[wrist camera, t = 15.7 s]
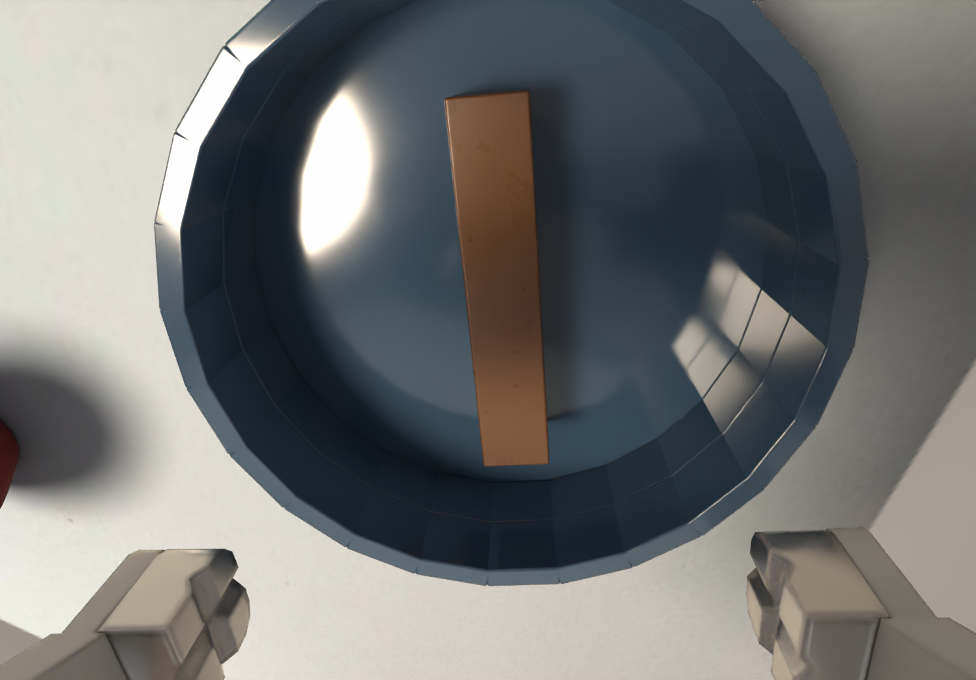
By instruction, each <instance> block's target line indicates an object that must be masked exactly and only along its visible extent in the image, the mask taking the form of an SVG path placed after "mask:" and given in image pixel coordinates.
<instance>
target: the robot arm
mask: <svg viewBox="0 0 976 680" xmlns="http://www.w3.org/2000/svg"><path fill="white" fill-rule="evenodd" d="M750 554H751V557H752V559H753V561H754V563H755V565H756V568H755V569H754V570H753V571H752V572H751V573H750V574H749V575H748V576H747V590H746V595H747V604H748V612H749V616H750V619H751V623H752V627H753V629H754V632H755V634H756V637H757V639H758V642H759V644H760V645H762V646H763V647H764V648H765V649H767V650H768V651H769V652H770V653H772V654H773V659H772V667H771V673H772V675H773V678H774V680H976V633H974V632H973V631H971V630H969V629H968V628H966V627H964V626H962V625H961V624H959V623H957V622H955V621H954V620H952V619H950V618H937V617H936V616H935V614H934V613H933V612H932V611H931V609H930V608H929V607H928V606H927V604H926V603H925V602H924V600H923V599H922V598H921V597H920V595H919V594H918V593H917V591H916V590H915V589H914V588H913V586H912V585H911V584H910V582H909V581H908V580H907V579H906V577H905V576H904V575H903V574H902V572H901V571H900V570H899V568H898V567H897V566H896V565H895V563H894V562H893V561H892V560H891V558H890V557H889V556H888V554H887V553H886V552H885V551H884V549H883V548H882V547H881V546H880V544H879V543H878V542H877V540H876V539H875V538H874V537H873V535H872V534H871V533H870V532H869V531H868V530H866V529H864V528H862V527H858V528H837V529H826V530H801V531H776V532H755V533H754V536H753V538H752V540H751V548H750ZM237 569H238V565H237V562H236V560H235V557H234V555H233V552H232V551H229V550H226V549H167V550H138V551H136V552H134V553H131V554H129V555H128V556H127V557H126V558H125V559H124V561H123V562H122V563H121V564H120V565H119V566H118V568H117V569H116V570H115V571H114V572H113V573H112V575H111V576H110V577H109V578H108V579H107V581H106V582H105V583H104V584H103V585H102V586H101V588H100V589H99V590H98V591H97V592H96V593H95V595H94V596H93V597H92V598H91V599H90V600H89V602H88V603H87V604H86V605H85V606H84V607H83V609H82V610H81V611H80V612H79V613H78V615H77V616H76V617H75V618H74V619H73V620H72V622H71V623H70V624H69V625H68V626H67V627H66V629H65V630H64V631H63V632H62V633H61V634H51V635H49V636H47V637H46V638H44V639H42V640H41V641H39V642H37V643H36V644H34V645H33V646H31V647H29V648H28V649H26V650H24V651H23V652H21V653H20V654H18V655H16V656H15V657H13V658H11V659H10V660H8V661H6V662H5V663H3V664H2V665H0V680H224V678H225V676H224V671H223V667H222V664H223V663H224V662H225V661H227V660H228V659H229V658H230V657H232V656H233V655H234V654H235V653H236V652H238V650H239V648H240V646H241V644H242V642H243V640H244V638H245V636H246V633H247V628H248V623H249V618H250V604H249V598H248V595H247V592H246V588H244V587H243V586H242V585H241V584H239V583H238V582H237V581H236V580H235V579H233V577H234V575H235V573H236V571H237Z"/></svg>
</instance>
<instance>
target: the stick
mask: <svg viewBox="0 0 976 680" xmlns="http://www.w3.org/2000/svg"><path fill="white" fill-rule="evenodd" d="M444 105H445V114H446V124H447V133H448V142H449V151H450V160H451V170H452V179H453V188H454V197H455V207H456V216H457V225H458V234H459V244H460V253H461V262H462V271H463V281H464V290H465V299H466V308H467V317H468V327H469V336H470V345H471V354H472V364H473V373H474V382H475V391H476V401H477V410H478V419H479V428H480V438H481V447H482V456H483V464H484V466H486V467H488V466H513V465H538V464H549V462H550V460H549V441H548V423H547V404H546V386H545V367H544V349H543V330H542V312H541V293H540V275H539V256H538V237H537V219H536V200H535V182H534V163H533V145H532V126H531V108H530V93H529V91H528V89H526V88H523V89H512V90H502V91H491V92H480V93H469V94H459V95H454V96H450V97H447V98H445V100H444Z"/></svg>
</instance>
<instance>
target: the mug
mask: <svg viewBox="0 0 976 680" xmlns="http://www.w3.org/2000/svg"><path fill="white" fill-rule="evenodd" d="M18 459H19V449H18V444H17V442H16V439H15V438H14V436H13V434H12V433H11V431H10V430H9V429H8V427H7V426H6V425H5V424H4V423H3V422H1V421H0V508H1V507H2V504H3V502H4V500H5V498H6V495H7V493H8V490H9V488H10V485H11V482H12V479H13V476H14V473H15V470H16V467H17V464H18Z"/></svg>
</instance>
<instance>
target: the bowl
mask: <svg viewBox="0 0 976 680" xmlns="http://www.w3.org/2000/svg"><path fill="white" fill-rule="evenodd" d="M225 45H226V46H223V47H222V48H221V50H220V52H219V53H218V55H217V57H216V59H215V61H214V62H213V64H212V66H211V68H210V69H209V71H208V73H207V75H206V77H205V78H204V80H203V82H202V84H201V85H200V87H199V89H198V91H197V93H196V94H195V96H194V98H193V100H192V101H191V103H190V105H189V107H188V108H187V110H186V112H185V114H184V116H183V117H182V119H181V121H180V123H179V124H178V126H177V128H176V132H175V133H174V135H173V139H172V144H171V149H170V153H169V158H168V162H167V167H166V171H165V176H164V180H163V185H162V189H161V194H160V198H159V203H158V208H157V212H156V217H155V223H154V231H155V246H156V262H157V278H158V293H159V308H160V309H161V310H160V312H161V315H162V318H163V321H164V324H165V327H166V330H167V333H168V336H169V339H170V342H171V345H172V348H173V351H174V354H175V357H176V360H177V363H178V366H179V369H180V371H181V374H182V377H183V380H184V383H185V386H186V387H187V390H188V392H189V393H190V395H191V396H192V398H193V400H194V401H195V403H196V404H197V406H198V407H199V409H200V411H201V412H202V414H203V415H204V417H205V418H206V420H207V422H208V423H209V425H210V426H211V428H212V429H213V431H214V432H215V434H216V436H217V437H218V439H219V440H220V442H221V443H222V445H223V447H224V448H225V450H226V451H227V453H228V454H230V456H231V457H232V458H233V459H234V460H235V461H236V462H237V463H238V464H239V465H240V466H241V467H242V468H243V469H244V470H245V471H246V472H247V473H248V474H249V475H250V476H251V477H252V478H253V479H254V480H255V481H256V482H257V483H258V484H259V485H260V486H261V487H262V488H263V489H264V490H265V491H266V492H267V493H268V494H269V495H270V496H271V497H272V498H273V499H274V500H275V501H276V502H277V503H278V504H280V505H281V506H282V507H284V508H285V509H286V510H287V511H289V512H290V513H292V514H293V515H295V516H297V517H298V518H300V519H301V520H303V521H305V522H306V523H308V524H309V525H311V526H312V527H314V528H316V529H317V530H319V531H320V532H322V533H323V534H325V535H327V536H328V537H330V538H331V539H333V540H334V541H336V542H338V543H339V544H341V545H342V546H344V547H347V548H348V549H350V550H353V551H355V552H358V553H361V554H363V555H366V556H368V557H371V558H374V559H376V560H379V561H382V562H384V563H387V564H390V565H392V566H395V567H397V568H400V569H403V570H405V571H408V572H411V573H415V572H416V574H418V575H424V576H429V577H435V578H441V579H447V580H453V581H459V582H465V583H471V584H477V585H483V586H486V585H488V586H509V585H545V584H559V583H561V584H564V583H569V582H573V581H577V580H582V579H586V578H590V577H595V576H599V575H603V574H608V573H612V572H617V571H621V570H625V569H630V568H632V566H633V567H635V566H637V565H640V564H642V563H644V562H646V561H648V560H651V559H653V558H655V557H657V556H659V555H661V554H664V553H666V552H668V551H670V550H672V549H675V548H677V547H679V546H681V545H683V544H685V543H688V542H690V541H692V540H694V539H696V538H699V537H700V536H701V535H705V534H706V533H707V532H709V531H710V530H711V529H713V528H714V527H715V526H717V525H718V524H719V523H721V522H722V521H723V520H725V519H726V518H727V517H728V516H730V515H731V514H732V513H734V512H735V511H736V510H738V509H739V508H740V507H742V506H743V505H744V504H746V503H747V502H748V501H750V500H751V499H752V498H754V497H755V496H756V495H758V494H759V493H760V492H762V491H763V490H764V487H767V485H768V484H769V483H770V482H771V481H772V479H773V478H774V477H775V476H776V474H777V473H778V472H779V471H780V470H781V468H782V467H783V466H784V465H785V464H786V462H787V461H788V460H789V459H790V458H791V456H792V455H793V454H794V453H795V452H796V450H797V449H798V448H799V447H800V446H801V444H802V443H803V442H804V441H805V440H806V438H807V437H808V436H809V435H810V434H811V432H812V431H813V430H814V429H815V427H816V426H815V425H818V423H819V421H820V419H821V417H822V414H823V412H824V410H825V408H826V406H827V404H828V402H829V400H830V398H831V395H832V393H833V391H834V389H835V387H836V385H837V383H838V381H839V379H840V377H841V374H842V372H843V370H844V368H845V366H846V364H847V362H848V360H849V358H850V355H851V353H852V351H853V349H852V348H854V346H855V340H856V334H857V328H858V322H859V317H860V311H861V305H862V299H863V294H864V288H865V282H866V276H867V270H868V265H869V260H868V257H869V256H868V248H867V239H866V231H865V223H864V214H863V206H862V198H861V189H860V181H859V173H858V166H857V160H856V158H855V156H854V154H853V151H852V149H851V147H850V145H849V143H848V140H847V138H846V136H845V134H844V132H843V129H842V127H841V125H840V123H839V121H838V118H837V116H836V114H835V112H834V110H833V107H832V105H831V103H830V101H829V99H828V96H827V94H826V92H825V90H824V88H823V85H822V83H821V81H820V79H819V77H818V74H817V72H816V71H815V70H813V67H812V65H811V64H810V63H809V62H808V61H807V60H806V59H805V58H804V57H803V56H802V55H801V53H800V52H799V51H798V50H797V49H796V48H795V47H794V46H793V45H792V44H791V43H790V41H789V40H788V39H787V38H786V37H785V36H784V35H783V34H782V33H781V32H780V31H779V29H778V28H777V27H776V26H775V25H774V24H773V23H772V22H771V21H770V20H769V19H768V17H767V16H766V15H765V14H764V13H763V12H762V11H761V10H760V9H759V8H758V7H757V5H756V4H755V3H754V2H753V1H752V0H271V1H270V2H269V3H268V4H267V5H265V6H264V7H263V8H262V9H261V10H260V11H259V12H258V13H257V14H256V15H255V16H254V17H253V18H252V19H250V20H249V21H248V22H247V23H246V24H245V25H244V26H243V27H242V28H241V29H240V30H239V31H238V32H237V33H235V34H234V35H233V36H232V37H231V38H230V39H229V40H228V41H227V42H226V44H225ZM523 88H526V89H528V91H529V93H530V108H531V126H532V145H533V163H534V182H535V200H536V219H537V237H538V256H539V275H540V293H541V312H542V330H543V349H544V367H545V386H546V404H547V423H548V441H549V460H550V462H549V464H538V465H513V466H488V467H486V466H484V464H483V456H482V447H481V438H480V428H479V419H478V410H477V401H476V391H475V382H474V373H473V364H472V354H471V345H470V336H469V327H468V317H467V308H466V299H465V290H464V281H463V271H462V262H461V253H460V244H459V234H458V225H457V216H456V207H455V197H454V188H453V179H452V170H451V160H450V151H449V142H448V133H447V124H446V114H445V105H444V100H445V98H447V97H450V96H454V95H459V94H469V93H480V92H491V91H502V90H512V89H523Z"/></svg>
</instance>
